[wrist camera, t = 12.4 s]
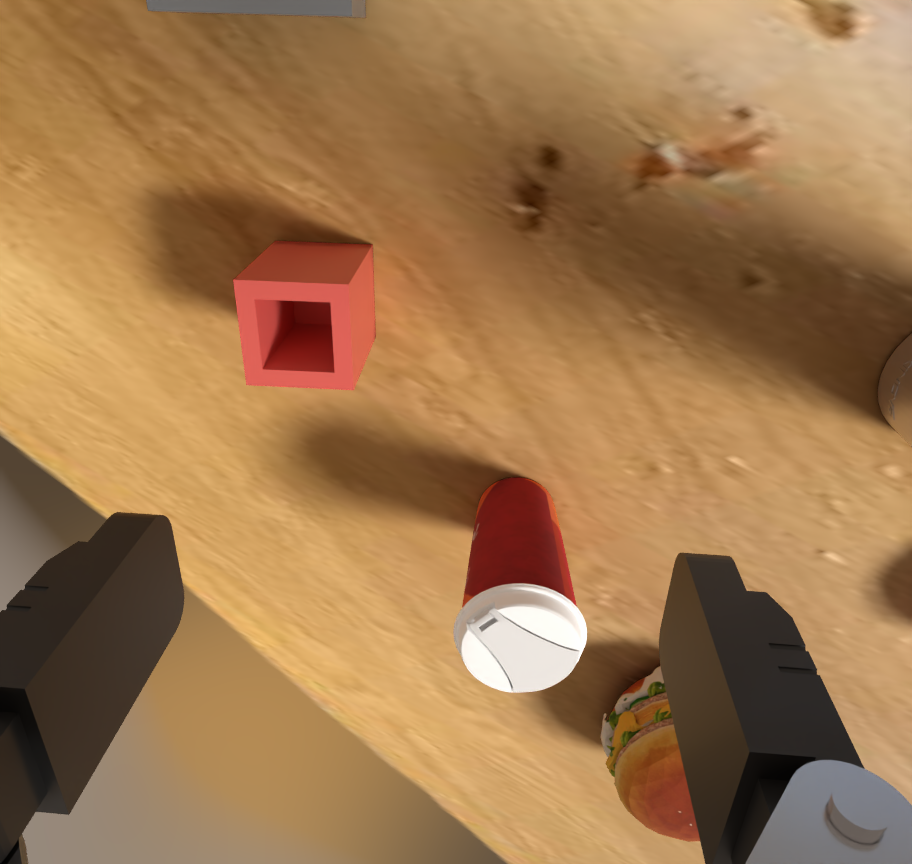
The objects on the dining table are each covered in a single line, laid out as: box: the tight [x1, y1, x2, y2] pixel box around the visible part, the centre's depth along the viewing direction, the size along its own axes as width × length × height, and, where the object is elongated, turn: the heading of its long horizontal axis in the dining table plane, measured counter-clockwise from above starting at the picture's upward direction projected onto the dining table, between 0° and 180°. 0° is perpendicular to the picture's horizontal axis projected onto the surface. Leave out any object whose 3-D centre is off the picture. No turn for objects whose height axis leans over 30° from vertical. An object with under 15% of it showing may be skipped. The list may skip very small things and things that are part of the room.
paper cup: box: [454, 477, 587, 693], centre depth 47 cm, size 8×8×14 cm
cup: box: [233, 241, 376, 390], centre depth 42 cm, size 6×6×8 cm
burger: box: [600, 666, 700, 841], centre depth 58 cm, size 14×14×10 cm
